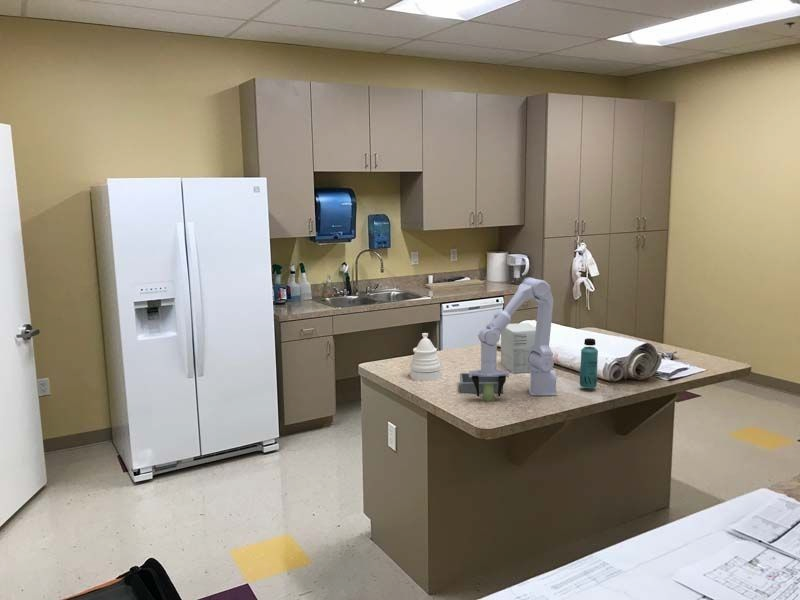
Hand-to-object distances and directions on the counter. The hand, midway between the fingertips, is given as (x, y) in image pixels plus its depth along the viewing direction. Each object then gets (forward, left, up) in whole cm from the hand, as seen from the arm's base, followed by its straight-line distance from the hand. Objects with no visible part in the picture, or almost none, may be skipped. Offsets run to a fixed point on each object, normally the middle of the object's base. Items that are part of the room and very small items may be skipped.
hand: (488, 395), depth 241 cm
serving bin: (+2, -14, -1) cm, 14 cm away
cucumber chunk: (0, 0, -1) cm, 1 cm away
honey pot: (+24, -30, -2) cm, 38 cm away
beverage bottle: (-39, -12, -2) cm, 41 cm away
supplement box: (-17, -44, -2) cm, 47 cm away
